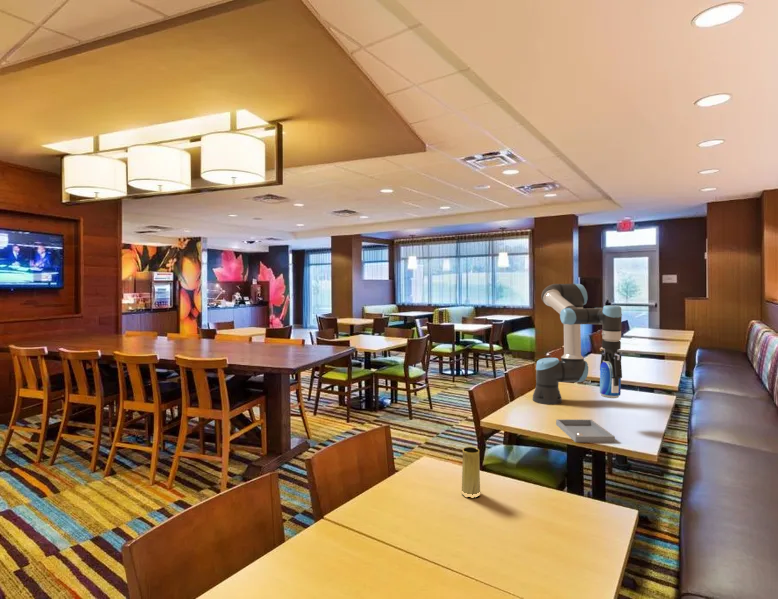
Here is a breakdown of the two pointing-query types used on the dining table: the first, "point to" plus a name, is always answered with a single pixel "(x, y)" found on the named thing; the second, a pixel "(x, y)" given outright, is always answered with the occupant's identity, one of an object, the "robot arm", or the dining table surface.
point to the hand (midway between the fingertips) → (610, 389)
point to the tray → (585, 431)
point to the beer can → (607, 381)
